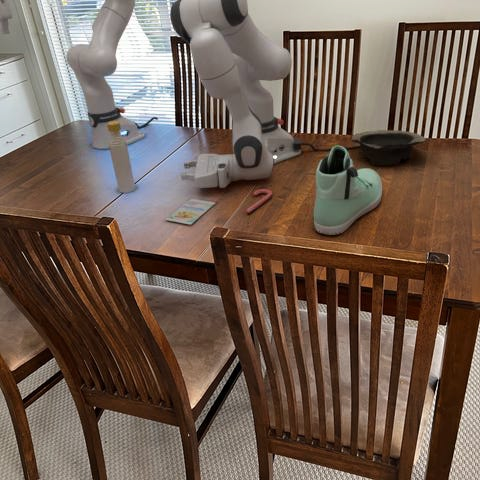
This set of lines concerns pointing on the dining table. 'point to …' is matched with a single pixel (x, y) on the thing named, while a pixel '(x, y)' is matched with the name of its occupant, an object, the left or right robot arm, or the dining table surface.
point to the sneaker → (343, 192)
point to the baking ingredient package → (190, 211)
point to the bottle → (121, 162)
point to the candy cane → (261, 201)
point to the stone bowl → (387, 145)
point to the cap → (113, 126)
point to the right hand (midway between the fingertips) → (182, 171)
